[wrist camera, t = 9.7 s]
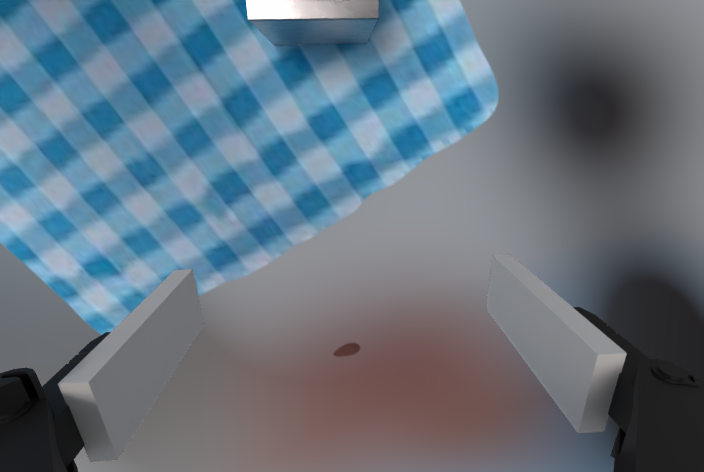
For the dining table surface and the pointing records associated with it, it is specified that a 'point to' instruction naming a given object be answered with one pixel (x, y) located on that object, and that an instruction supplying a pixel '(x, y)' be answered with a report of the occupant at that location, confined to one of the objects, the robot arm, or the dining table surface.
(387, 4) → the dining table surface
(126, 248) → the dining table surface
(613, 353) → the robot arm
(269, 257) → the dining table surface
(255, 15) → the steel cube with knob
